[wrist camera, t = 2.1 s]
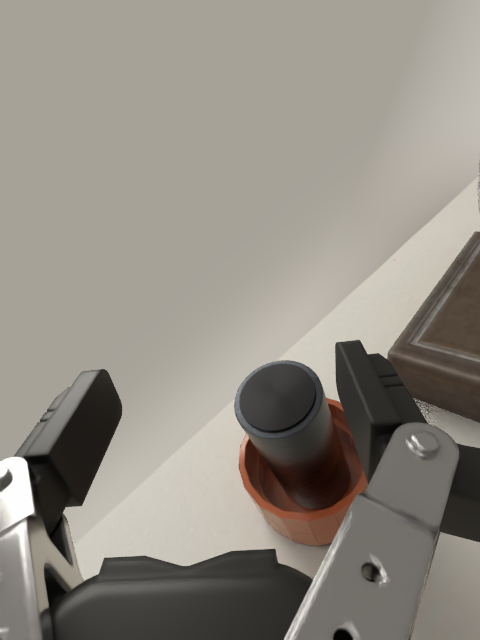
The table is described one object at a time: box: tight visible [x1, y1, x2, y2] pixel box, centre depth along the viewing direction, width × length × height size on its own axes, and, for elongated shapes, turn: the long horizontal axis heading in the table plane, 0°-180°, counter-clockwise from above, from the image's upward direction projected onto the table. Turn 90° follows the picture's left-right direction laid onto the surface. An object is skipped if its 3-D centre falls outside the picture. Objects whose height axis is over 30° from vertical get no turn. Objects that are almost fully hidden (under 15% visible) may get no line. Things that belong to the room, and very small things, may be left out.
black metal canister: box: [235, 361, 349, 509], centre depth 24 cm, size 6×6×11 cm
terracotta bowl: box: [239, 398, 368, 546], centre depth 26 cm, size 10×10×4 cm
